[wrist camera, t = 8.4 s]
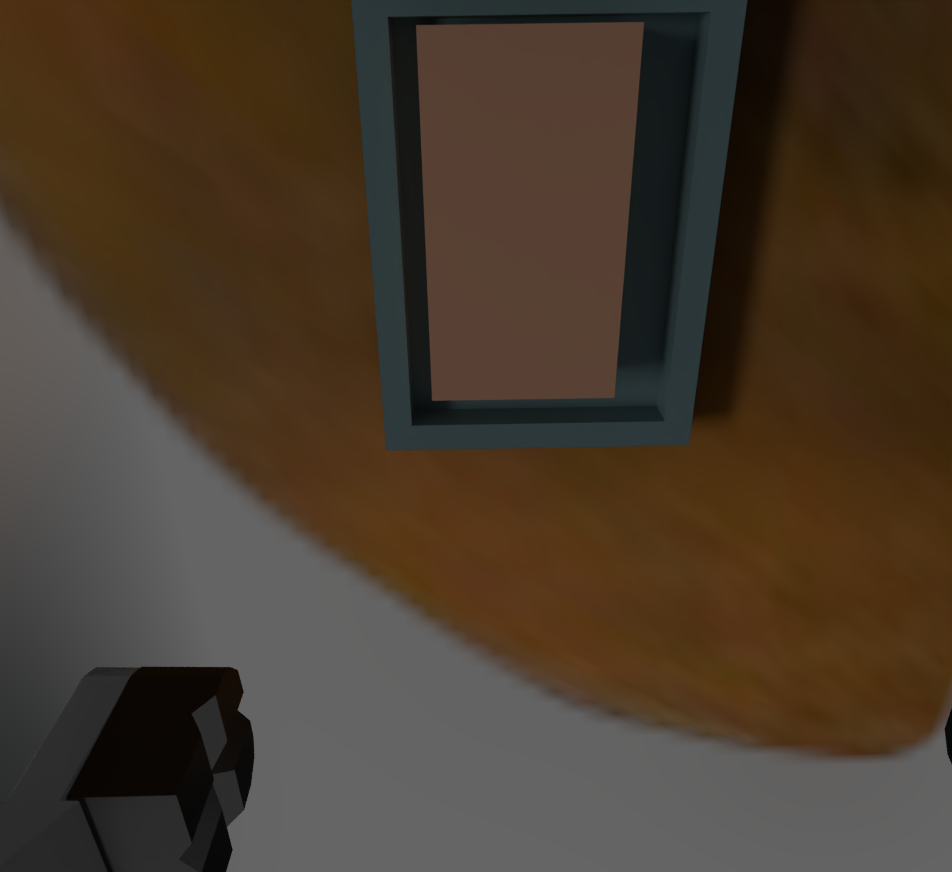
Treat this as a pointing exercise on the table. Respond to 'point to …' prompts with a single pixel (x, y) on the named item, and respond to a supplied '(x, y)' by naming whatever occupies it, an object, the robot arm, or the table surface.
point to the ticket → (526, 204)
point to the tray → (648, 238)
